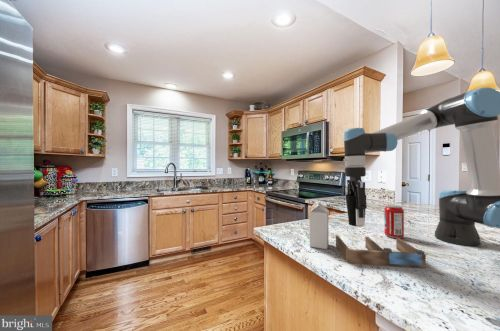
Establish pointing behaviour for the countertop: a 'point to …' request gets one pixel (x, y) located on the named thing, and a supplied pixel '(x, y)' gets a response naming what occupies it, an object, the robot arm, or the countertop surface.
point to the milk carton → (319, 227)
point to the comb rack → (383, 254)
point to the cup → (352, 209)
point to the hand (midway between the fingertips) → (356, 222)
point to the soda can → (394, 221)
